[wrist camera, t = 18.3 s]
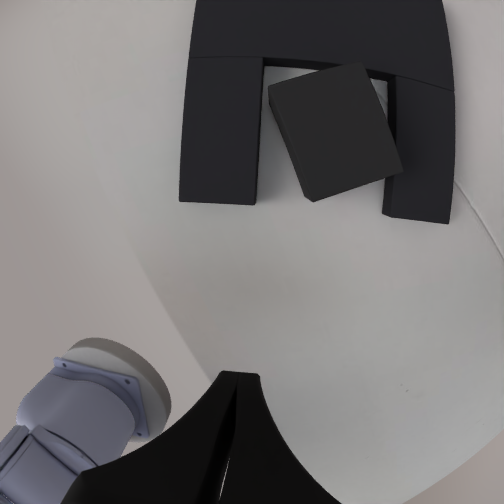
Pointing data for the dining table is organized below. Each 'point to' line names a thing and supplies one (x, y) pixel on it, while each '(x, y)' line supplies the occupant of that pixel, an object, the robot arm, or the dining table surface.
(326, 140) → the small block
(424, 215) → the base pad
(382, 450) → the dining table surface
